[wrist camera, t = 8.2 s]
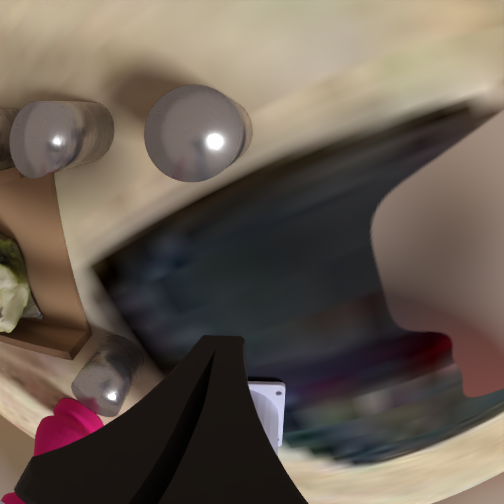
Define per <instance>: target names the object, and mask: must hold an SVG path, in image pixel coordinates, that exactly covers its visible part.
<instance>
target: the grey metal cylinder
mask: <svg viewBox="0 0 504 504" xmlns="http://www.w3.org/2000/svg"><path fill="white" fill-rule="evenodd" d="M252 134H253V128H252V122H251V119H250V117H249V115H248V113H247V112H246V110H245V109H244V108H243V107H242V106H241V105H240V104H238V103H237V102H235V101H234V100H232V99H230V98H229V97H227V96H226V95H224V94H222V93H221V92H219V91H217V90H215V89H213V88H210V87H208V86H203V85H185V86H181V87H178V88H175V89H173V90H171V91H169V92H168V93H166V94H165V95H163V96H162V97H161V98H160V99H159V100H158V101H157V102H156V103H155V105H154V106H153V108H152V109H151V111H150V113H149V115H148V118H147V120H146V124H145V131H144V139H145V146H146V149H147V152H148V155H149V157H150V158H151V160H152V162H153V163H154V164H155V166H156V167H157V168H158V169H159V170H160V171H161V172H163V173H164V174H165V175H167V176H169V177H171V178H173V179H175V180H179V181H183V182H200V181H204V180H207V179H210V178H212V177H214V176H216V175H218V174H219V173H220V172H222V171H223V170H224V169H226V168H227V167H228V166H230V165H231V164H232V163H234V162H235V161H236V160H238V159H239V158H240V157H241V156H242V155H243V154H244V153H245V152H246V150H247V149H248V147H249V145H250V143H251V140H252Z"/></svg>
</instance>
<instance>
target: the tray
mask: <svg viewBox="0 0 504 504" xmlns="http://www.w3.org/2000/svg"><path fill="white" fill-rule="evenodd" d="M0 232H1V233H3V234H5V235H7V236H9V237H11V238H12V239H13V240H14V241H15V242H16V244H17V246H18V249H19V251H20V254H21V257H22V259H23V262H24V264H25V266H26V269H27V274H28V280H29V288H30V292H31V296H32V299H33V301H34V302H35V304H36V306H37V307H38V309H39V311H40V312H41V314H42V315H43V319H41V320H40V319H35V318H30V317H21V318H20V319H19V321H18V323H17V325H16V327H15V328H14V329H13V330H12V332H10V333H7V332H5V331H4V332H0V341H1V342H4V343H8V344H11V345H14V346H18V347H21V348H25V349H28V350H32V351H35V352H39V353H43V354H47V355H51V356H55V357H59V358H63V359H68V360H73V359H74V358H75V356H76V355H77V354H78V352H79V351H80V350H81V348H82V347H83V346H84V344H85V343H86V342H87V341H88V339H89V338H90V337H91V335H92V334H91V331H90V328H89V325H88V322H87V319H86V316H85V313H84V310H83V307H82V303H81V300H80V297H79V293H78V290H77V286H76V283H75V279H74V275H73V272H72V268H71V264H70V260H69V256H68V252H67V247H66V243H65V238H64V233H63V229H62V224H61V218H60V213H59V207H58V201H57V195H56V188H55V181H54V174H53V173H51V174H48V175H45V176H42V177H38V178H29V177H26V176H24V175H23V174H22V173H21V172H20V171H19V170H18V169H17V168H16V166H15V167H11V168H8V169H4V170H1V171H0Z"/></svg>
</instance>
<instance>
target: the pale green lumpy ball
mask: <svg viewBox="0 0 504 504" xmlns="http://www.w3.org/2000/svg"><path fill="white" fill-rule="evenodd" d="M21 317H30V318H35V319H40V320H41V319H43V315H42V314H41V312H40V311H39V309H38V307H37V306H36V304H35V302H34V301H33V299H32V296H31V292H30V288H29V280H28V274H27V269H26V266H25V264H24V262H23V259H22V257H21V254H20V251H19V249H18V246H17V244H16V242H15V241H14V240H13V239H12V238H11V237H9V236H7V235H5V234H3V233H1V232H0V332H4V331H5V332H7V333H10V332H12V330H13V329H14V328H15V327H16V325H17V323H18V321H19V319H20V318H21Z"/></svg>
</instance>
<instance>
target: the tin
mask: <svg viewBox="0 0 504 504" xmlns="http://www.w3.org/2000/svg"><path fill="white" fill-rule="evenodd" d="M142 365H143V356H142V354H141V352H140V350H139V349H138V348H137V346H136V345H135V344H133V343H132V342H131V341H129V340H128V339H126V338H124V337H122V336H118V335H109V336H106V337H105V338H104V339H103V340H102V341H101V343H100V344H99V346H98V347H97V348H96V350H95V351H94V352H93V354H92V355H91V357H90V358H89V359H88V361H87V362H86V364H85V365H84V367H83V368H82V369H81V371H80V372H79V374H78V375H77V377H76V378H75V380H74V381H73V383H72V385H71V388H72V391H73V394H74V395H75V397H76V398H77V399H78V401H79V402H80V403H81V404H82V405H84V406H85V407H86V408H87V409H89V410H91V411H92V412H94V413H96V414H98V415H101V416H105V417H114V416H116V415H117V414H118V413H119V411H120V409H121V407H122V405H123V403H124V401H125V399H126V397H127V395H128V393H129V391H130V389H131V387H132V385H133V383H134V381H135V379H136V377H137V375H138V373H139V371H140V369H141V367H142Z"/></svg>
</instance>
